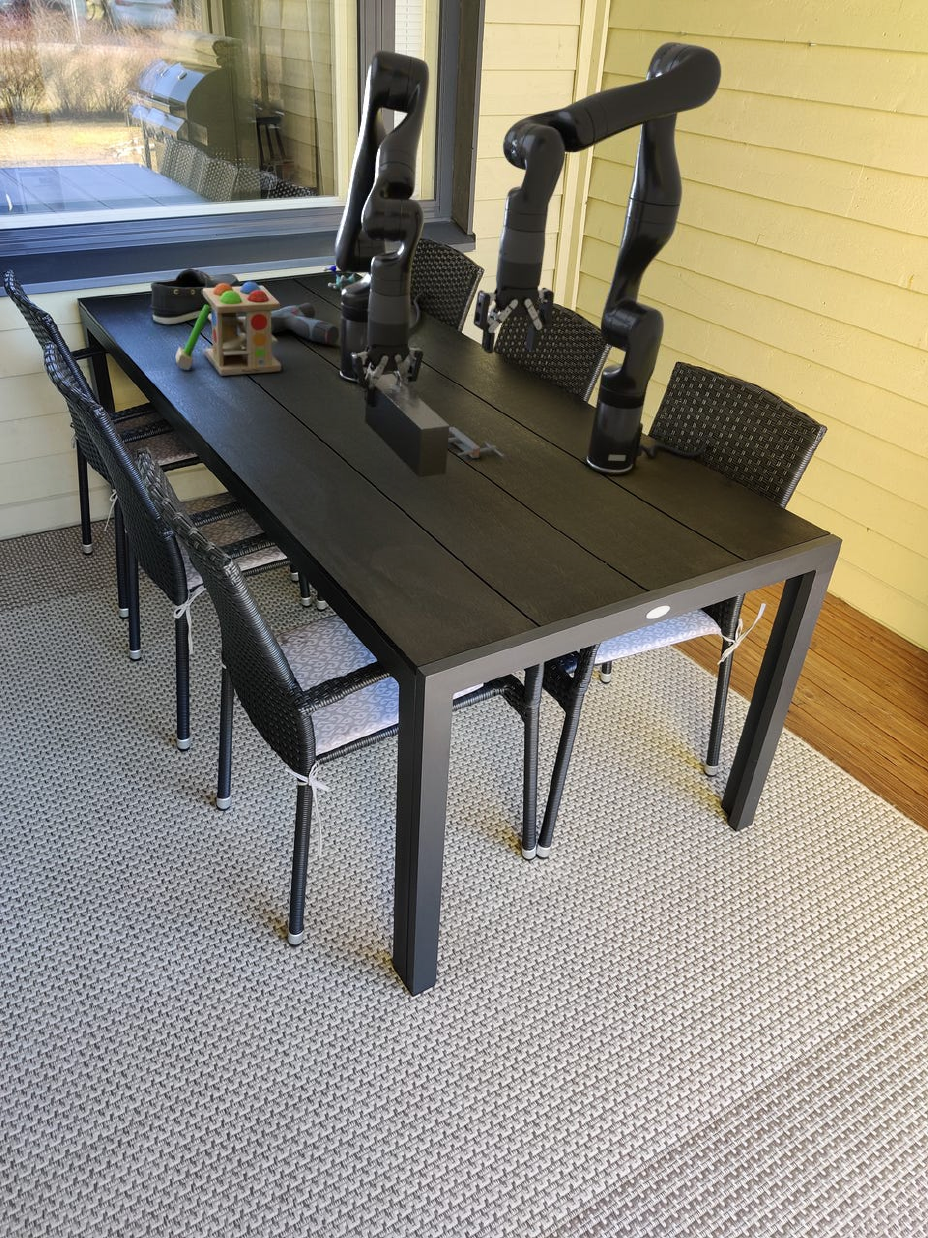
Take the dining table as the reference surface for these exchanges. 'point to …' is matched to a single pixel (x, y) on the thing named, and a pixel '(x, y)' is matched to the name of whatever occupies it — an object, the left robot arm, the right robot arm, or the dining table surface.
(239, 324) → the pounding bench toy
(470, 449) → the clamp
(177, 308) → the boat shoe
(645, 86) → the right robot arm
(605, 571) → the dining table surface
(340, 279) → the molecular model
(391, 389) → the bar
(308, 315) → the power drill
